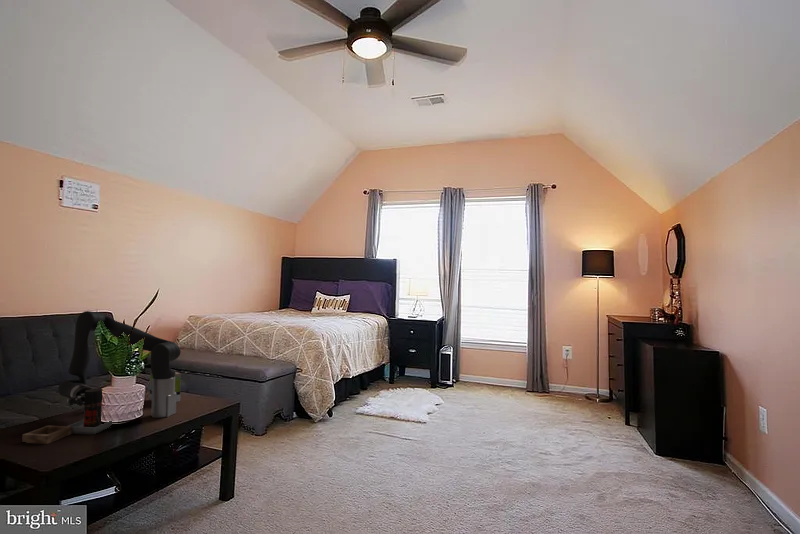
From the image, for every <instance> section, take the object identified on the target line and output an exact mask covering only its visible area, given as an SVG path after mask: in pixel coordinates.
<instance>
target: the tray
mask: <svg viewBox="0 0 800 534" xmlns="http://www.w3.org/2000/svg"><path fill="white" fill-rule="evenodd" d="M83 425H84V419H81V420H79V421H76V422H74V423H71V424H68V425H67V426H70V427H72V428H71V434H74V433H75V434H76V435H77V434H79V435H96V433H97V434H99V433H101V432H103V430H104V431H106V430H108V429H110V428H111V427H110V426H111V425H112V421H109V422H106V423H104V424H101V425H99V426H97V427H83ZM109 427H110V428H109ZM107 428H108V429H107ZM105 429H106V430H105Z"/></svg>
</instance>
